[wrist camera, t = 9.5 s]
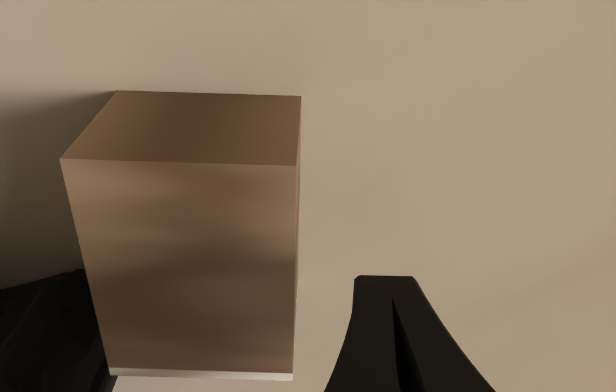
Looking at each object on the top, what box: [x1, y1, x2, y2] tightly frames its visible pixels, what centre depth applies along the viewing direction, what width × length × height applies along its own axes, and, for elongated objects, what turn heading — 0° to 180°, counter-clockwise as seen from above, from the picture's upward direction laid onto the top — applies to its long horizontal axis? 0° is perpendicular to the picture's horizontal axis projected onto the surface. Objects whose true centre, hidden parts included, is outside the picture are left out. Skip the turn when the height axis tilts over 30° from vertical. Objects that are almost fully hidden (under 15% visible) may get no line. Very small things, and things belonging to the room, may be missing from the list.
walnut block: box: [59, 90, 301, 381], centre depth 15 cm, size 5×4×7 cm
